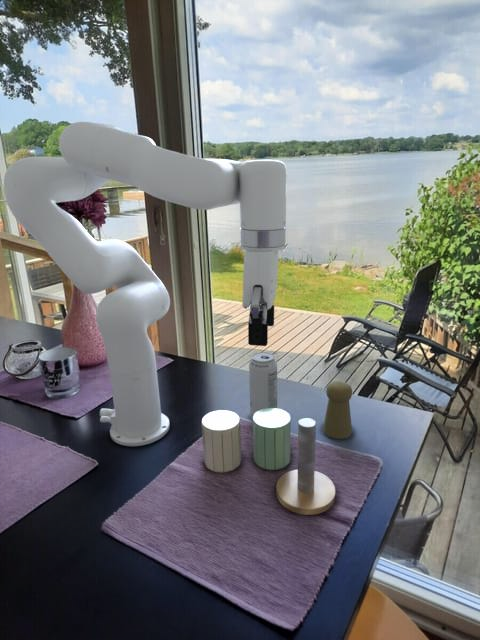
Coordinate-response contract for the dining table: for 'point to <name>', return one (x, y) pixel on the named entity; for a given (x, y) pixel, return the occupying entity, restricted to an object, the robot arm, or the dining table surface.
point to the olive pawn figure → (338, 410)
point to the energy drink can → (262, 382)
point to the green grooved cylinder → (272, 438)
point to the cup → (221, 440)
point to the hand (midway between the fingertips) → (261, 334)
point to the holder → (306, 478)
